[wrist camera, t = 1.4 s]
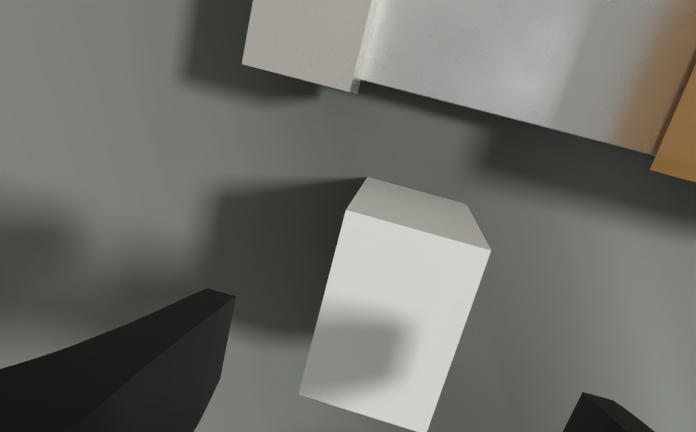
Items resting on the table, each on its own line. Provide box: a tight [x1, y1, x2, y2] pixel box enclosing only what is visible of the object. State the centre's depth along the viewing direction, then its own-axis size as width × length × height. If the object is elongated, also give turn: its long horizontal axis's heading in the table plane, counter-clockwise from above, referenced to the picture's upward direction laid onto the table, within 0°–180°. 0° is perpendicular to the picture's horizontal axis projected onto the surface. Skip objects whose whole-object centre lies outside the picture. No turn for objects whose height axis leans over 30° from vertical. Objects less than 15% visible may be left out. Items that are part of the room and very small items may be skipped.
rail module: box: [299, 177, 491, 432], centre depth 16 cm, size 6×4×6 cm, turn 166°
